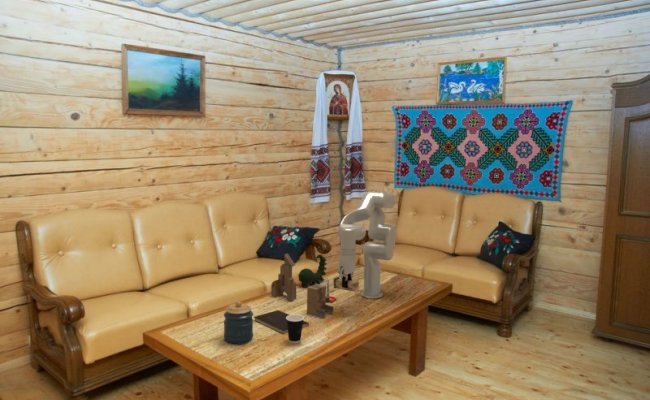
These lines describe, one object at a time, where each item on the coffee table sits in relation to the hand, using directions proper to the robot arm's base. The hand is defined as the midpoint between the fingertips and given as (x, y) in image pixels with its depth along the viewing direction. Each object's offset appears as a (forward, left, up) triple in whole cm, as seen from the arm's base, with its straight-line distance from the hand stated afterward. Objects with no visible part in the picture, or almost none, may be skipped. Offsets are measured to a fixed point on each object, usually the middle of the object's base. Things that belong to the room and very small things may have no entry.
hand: (346, 286), depth 256 cm
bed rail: (0, 0, -2) cm, 2 cm away
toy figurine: (-30, -45, -15) cm, 57 cm away
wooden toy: (-1, -42, -15) cm, 45 cm away
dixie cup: (+42, 0, -15) cm, 45 cm away
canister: (+56, -21, -15) cm, 62 cm away
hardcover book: (+29, -19, -16) cm, 38 cm away
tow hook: (-14, -21, -16) cm, 29 cm away
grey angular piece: (+7, -11, -15) cm, 20 cm away
